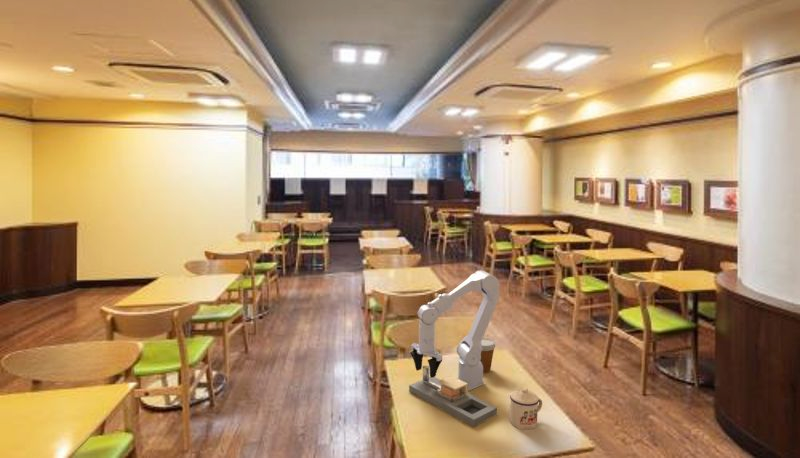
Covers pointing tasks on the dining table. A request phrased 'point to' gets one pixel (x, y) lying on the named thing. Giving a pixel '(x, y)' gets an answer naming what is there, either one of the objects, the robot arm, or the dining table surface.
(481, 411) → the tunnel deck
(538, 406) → the teacup with lid
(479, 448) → the dining table surface
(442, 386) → the terracotta block
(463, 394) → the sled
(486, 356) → the disposable coffee cup
